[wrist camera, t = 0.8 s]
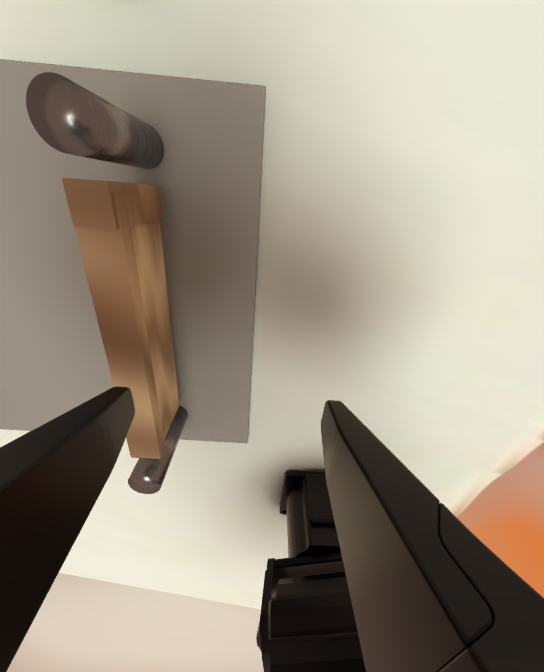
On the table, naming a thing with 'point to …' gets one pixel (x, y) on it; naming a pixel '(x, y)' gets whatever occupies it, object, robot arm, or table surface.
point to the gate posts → (112, 146)
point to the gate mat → (177, 242)
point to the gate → (130, 298)
